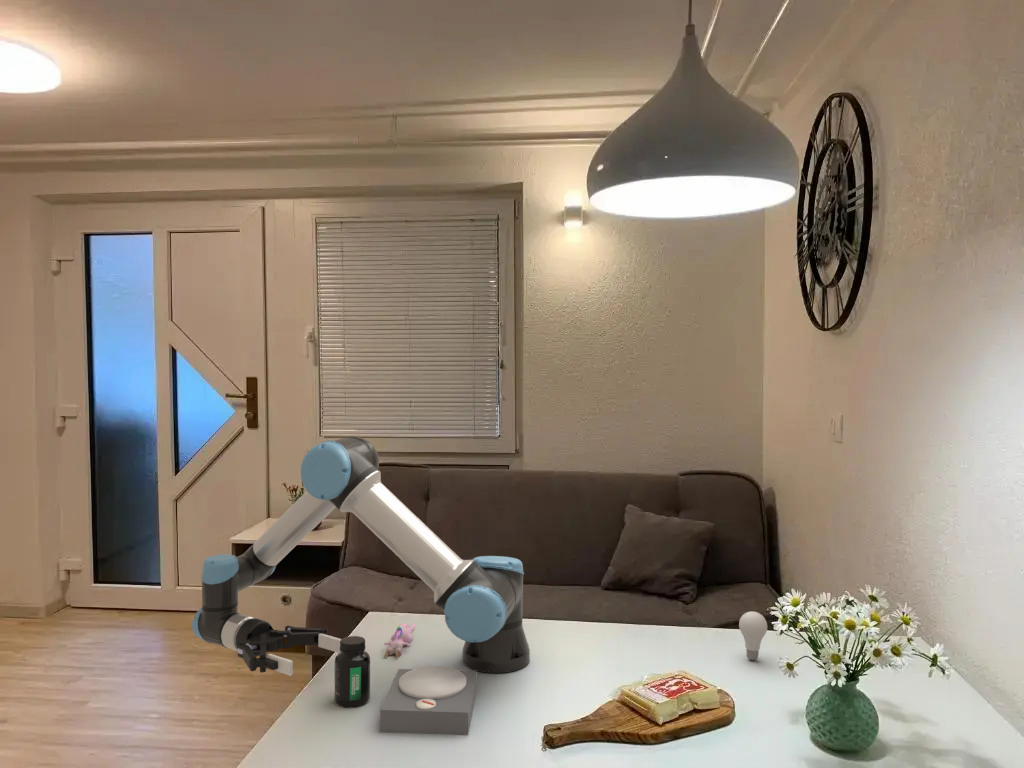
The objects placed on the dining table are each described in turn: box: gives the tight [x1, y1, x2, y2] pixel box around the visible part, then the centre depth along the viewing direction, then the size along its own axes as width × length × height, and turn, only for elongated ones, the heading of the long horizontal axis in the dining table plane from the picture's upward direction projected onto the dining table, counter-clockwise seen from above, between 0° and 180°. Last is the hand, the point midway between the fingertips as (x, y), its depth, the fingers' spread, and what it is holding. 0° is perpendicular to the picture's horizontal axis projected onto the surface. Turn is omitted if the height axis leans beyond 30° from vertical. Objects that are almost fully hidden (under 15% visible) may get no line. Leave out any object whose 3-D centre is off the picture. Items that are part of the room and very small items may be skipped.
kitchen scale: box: [379, 665, 478, 735], centre depth 145 cm, size 18×16×5 cm
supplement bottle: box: [334, 635, 371, 708], centre depth 148 cm, size 7×7×12 cm
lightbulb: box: [738, 610, 768, 661], centre depth 171 cm, size 6×6×11 cm
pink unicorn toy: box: [384, 622, 416, 659], centre depth 177 cm, size 6×6×15 cm
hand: (317, 657), depth 154 cm, fingers open, 13 cm apart
